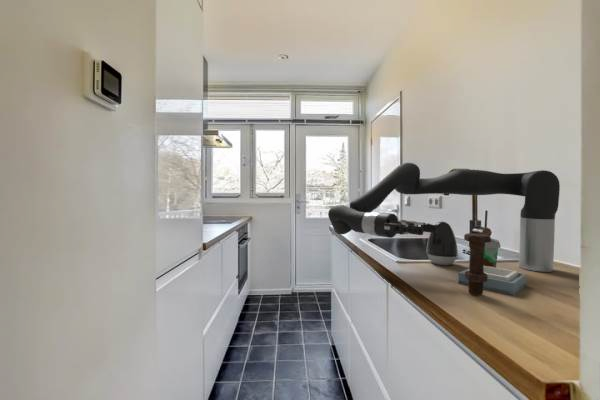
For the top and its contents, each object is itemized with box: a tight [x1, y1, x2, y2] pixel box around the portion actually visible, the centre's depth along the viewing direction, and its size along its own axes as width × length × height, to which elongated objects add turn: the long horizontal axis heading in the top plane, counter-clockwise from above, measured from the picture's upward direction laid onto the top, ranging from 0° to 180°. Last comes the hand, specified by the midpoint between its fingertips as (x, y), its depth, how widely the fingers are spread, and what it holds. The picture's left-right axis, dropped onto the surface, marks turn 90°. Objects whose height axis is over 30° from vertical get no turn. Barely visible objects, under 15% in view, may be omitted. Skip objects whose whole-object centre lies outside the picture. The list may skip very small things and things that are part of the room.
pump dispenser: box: [425, 221, 459, 266], centre depth 108 cm, size 10×10×15 cm
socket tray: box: [457, 266, 527, 296], centre depth 84 cm, size 13×13×4 cm
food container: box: [483, 238, 501, 268], centre depth 101 cm, size 12×6×10 cm, turn 154°
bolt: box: [463, 233, 492, 297], centre depth 76 cm, size 6×5×15 cm
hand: (429, 230), depth 84 cm, fingers open, 8 cm apart
